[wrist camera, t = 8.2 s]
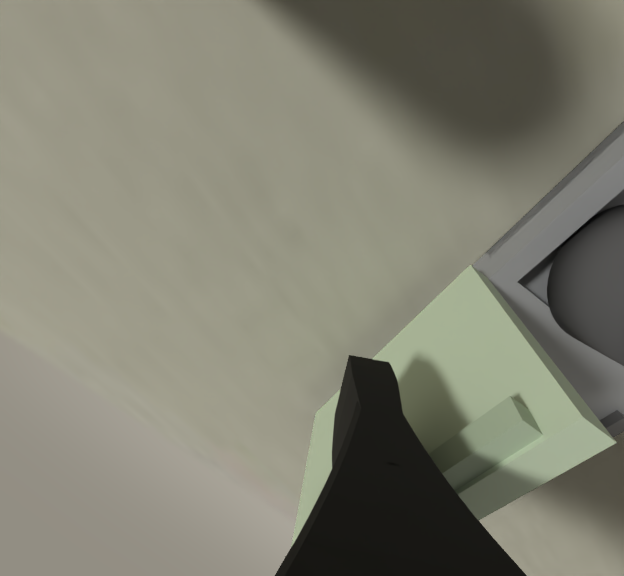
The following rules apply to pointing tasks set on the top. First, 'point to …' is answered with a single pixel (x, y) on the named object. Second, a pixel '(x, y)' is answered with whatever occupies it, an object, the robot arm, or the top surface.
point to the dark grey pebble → (592, 284)
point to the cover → (475, 402)
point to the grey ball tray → (537, 263)
